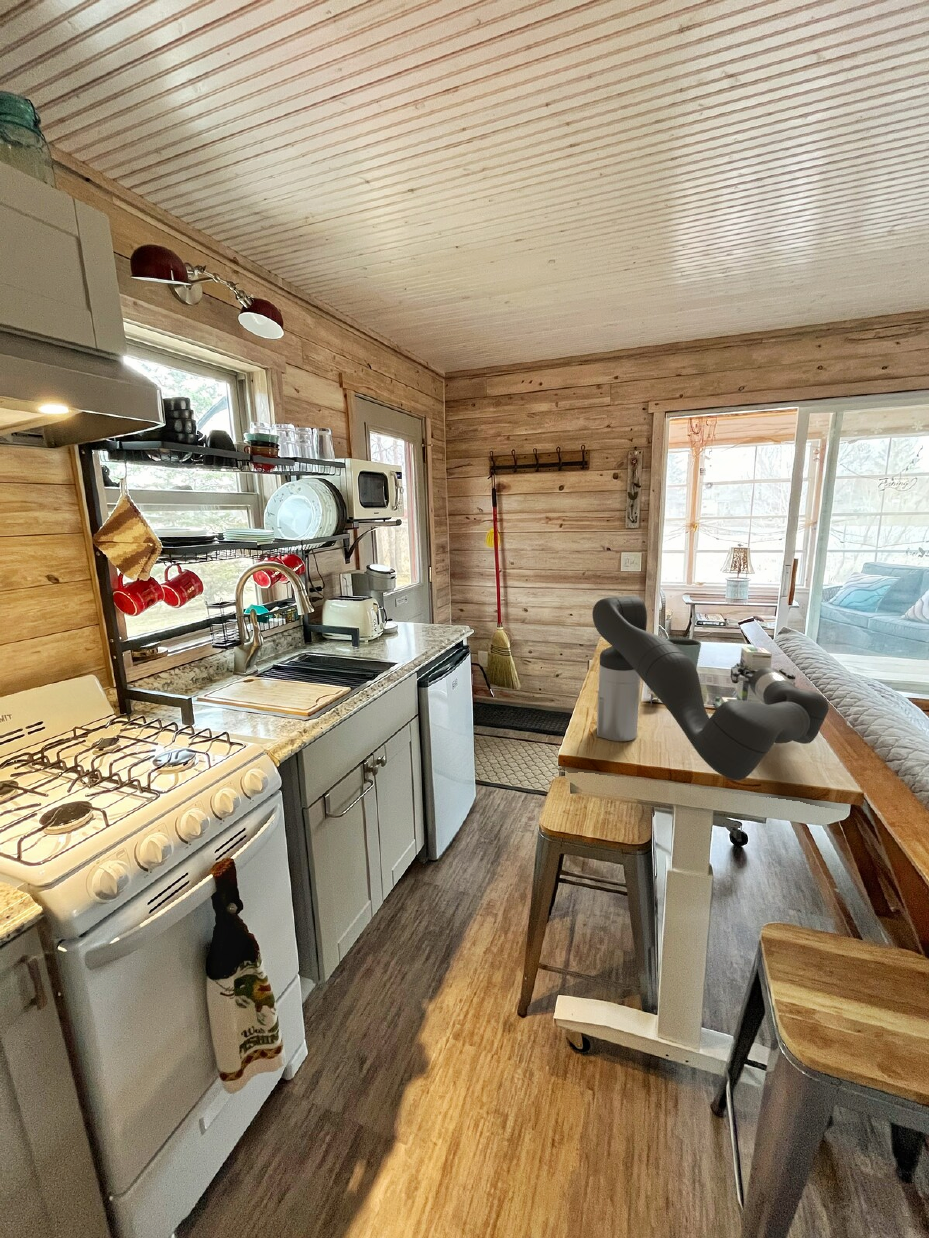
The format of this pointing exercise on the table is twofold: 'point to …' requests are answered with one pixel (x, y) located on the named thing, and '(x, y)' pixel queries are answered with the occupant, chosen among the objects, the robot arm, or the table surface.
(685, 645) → the grey-green cup
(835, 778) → the table surface
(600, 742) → the table surface
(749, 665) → the syrup box
